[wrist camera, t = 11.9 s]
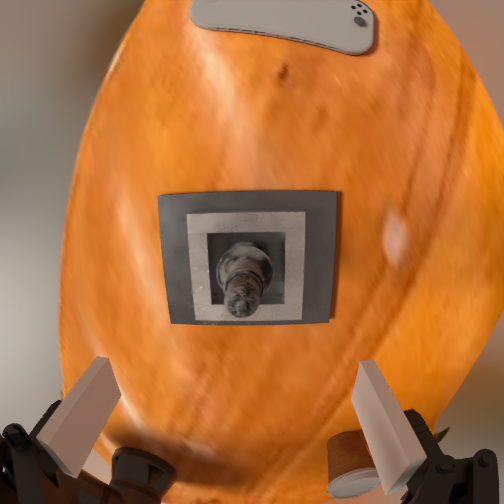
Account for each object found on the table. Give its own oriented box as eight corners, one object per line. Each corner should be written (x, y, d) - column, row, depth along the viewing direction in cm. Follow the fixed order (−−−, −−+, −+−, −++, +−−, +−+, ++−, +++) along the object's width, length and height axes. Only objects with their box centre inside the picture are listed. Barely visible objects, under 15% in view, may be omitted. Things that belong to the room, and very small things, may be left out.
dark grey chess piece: (210, 267, 32) (185, 316, 20) (241, 227, 31) (232, 257, 19) (251, 297, 33) (247, 357, 21) (283, 259, 31) (297, 305, 20)
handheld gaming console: (180, 22, 23) (201, -29, 21) (185, 32, 26) (204, -18, 23) (375, 56, 24) (376, 2, 21) (367, 64, 27) (370, 11, 24)
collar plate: (173, 319, 35) (165, 333, 31) (160, 195, 31) (149, 197, 27) (327, 319, 34) (333, 332, 31) (334, 191, 30) (343, 193, 27)
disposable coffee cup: (309, 450, 42) (316, 500, 30) (338, 422, 40) (352, 475, 28) (347, 455, 43) (358, 499, 31) (376, 428, 41) (394, 475, 29)
